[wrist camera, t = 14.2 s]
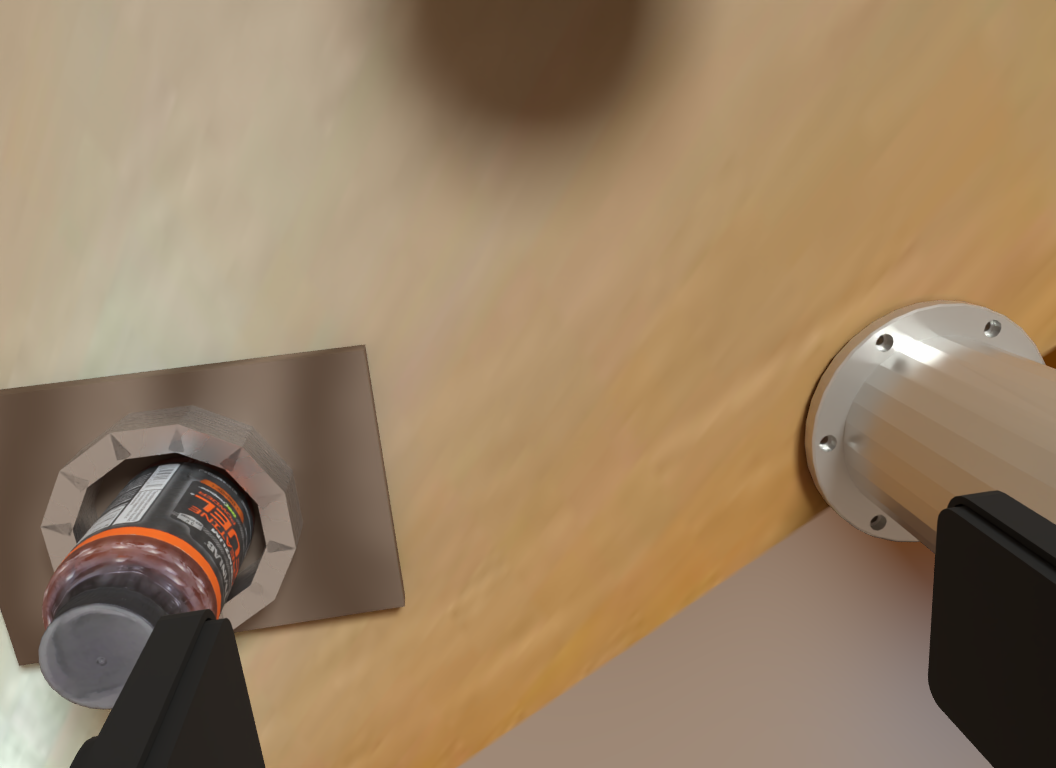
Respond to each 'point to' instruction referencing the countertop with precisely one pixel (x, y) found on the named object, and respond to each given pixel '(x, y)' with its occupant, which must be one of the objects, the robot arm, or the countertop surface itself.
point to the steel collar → (202, 441)
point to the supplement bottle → (141, 574)
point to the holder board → (223, 388)
